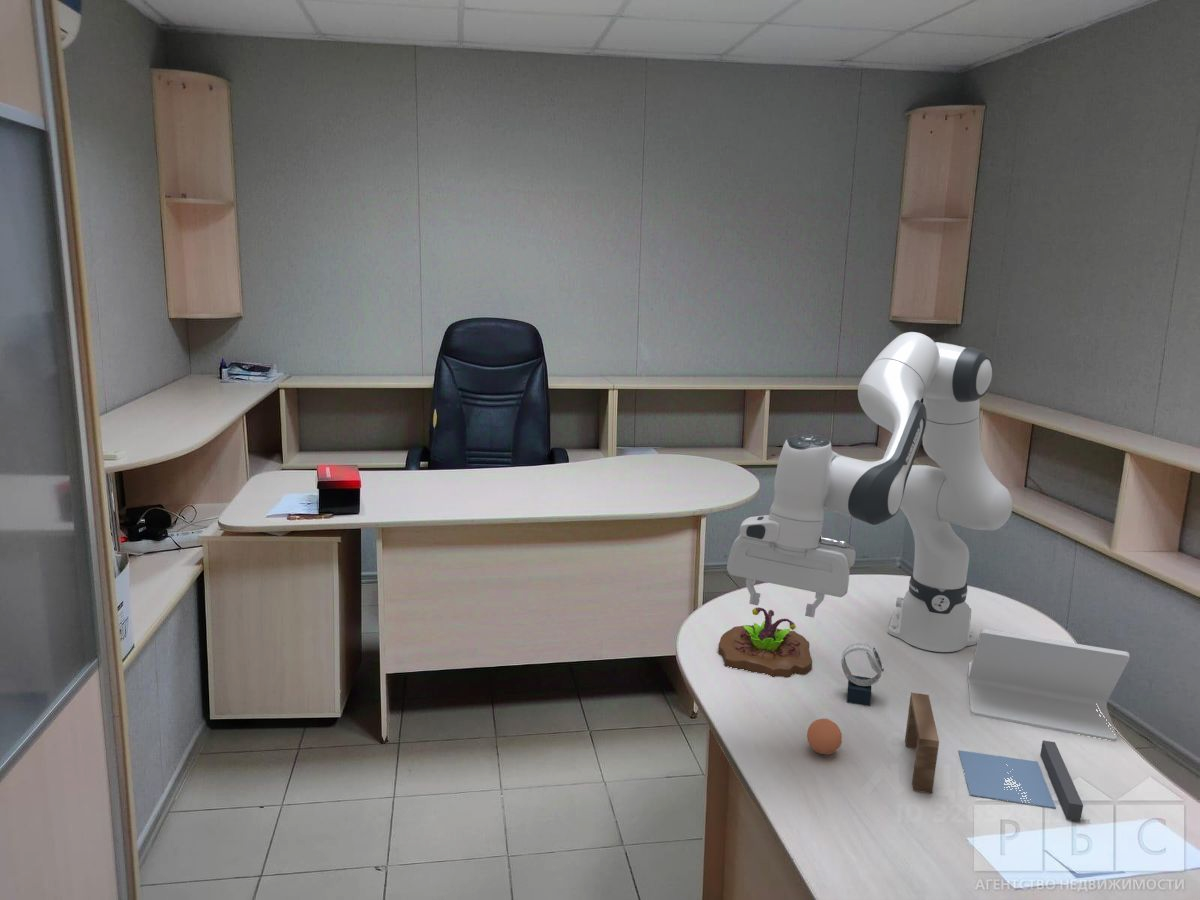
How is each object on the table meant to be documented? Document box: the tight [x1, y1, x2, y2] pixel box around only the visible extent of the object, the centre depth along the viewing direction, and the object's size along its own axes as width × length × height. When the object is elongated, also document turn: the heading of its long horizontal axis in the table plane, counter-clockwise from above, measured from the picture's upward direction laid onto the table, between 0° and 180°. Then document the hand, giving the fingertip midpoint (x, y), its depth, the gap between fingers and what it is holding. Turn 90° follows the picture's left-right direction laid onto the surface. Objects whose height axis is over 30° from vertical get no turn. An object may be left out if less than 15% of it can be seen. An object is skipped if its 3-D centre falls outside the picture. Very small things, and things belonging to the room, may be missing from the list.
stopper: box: [1039, 740, 1084, 823], centre depth 150 cm, size 18×2×3 cm, turn 167°
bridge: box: [904, 692, 940, 794], centre depth 154 cm, size 3×15×10 cm, turn 167°
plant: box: [718, 606, 813, 678], centre depth 192 cm, size 20×20×11 cm
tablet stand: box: [967, 628, 1131, 742], centre depth 174 cm, size 18×25×17 cm
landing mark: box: [958, 749, 1057, 810], centre depth 152 cm, size 13×13×1 cm
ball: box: [806, 718, 843, 755], centre depth 158 cm, size 6×6×6 cm
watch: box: [840, 643, 885, 707], centre depth 175 cm, size 6×8×11 cm
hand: (781, 609), depth 152 cm, fingers open, 8 cm apart
